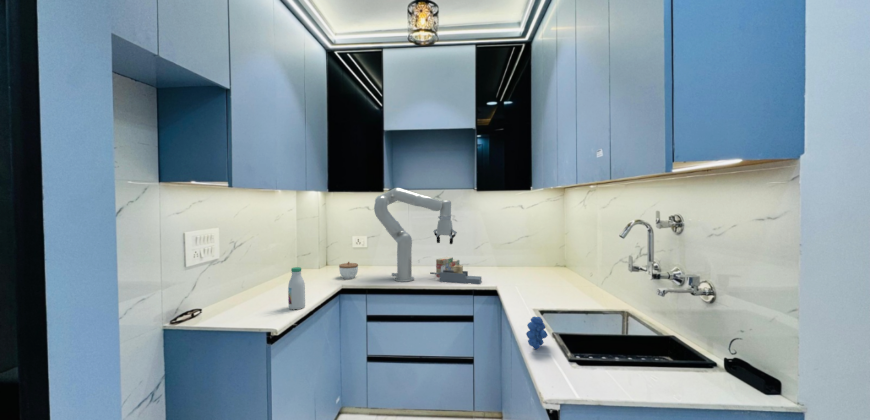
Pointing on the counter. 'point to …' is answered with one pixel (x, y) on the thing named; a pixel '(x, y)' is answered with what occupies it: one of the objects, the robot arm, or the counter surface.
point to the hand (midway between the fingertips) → (444, 243)
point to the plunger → (441, 270)
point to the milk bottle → (296, 290)
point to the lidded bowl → (348, 270)
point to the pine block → (458, 269)
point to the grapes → (536, 332)
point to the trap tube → (459, 277)
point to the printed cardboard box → (446, 264)
